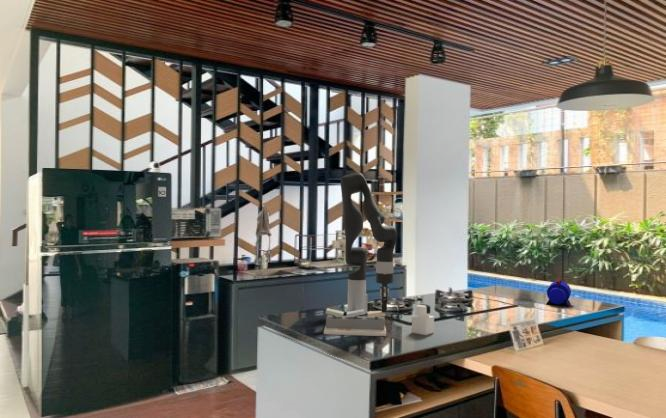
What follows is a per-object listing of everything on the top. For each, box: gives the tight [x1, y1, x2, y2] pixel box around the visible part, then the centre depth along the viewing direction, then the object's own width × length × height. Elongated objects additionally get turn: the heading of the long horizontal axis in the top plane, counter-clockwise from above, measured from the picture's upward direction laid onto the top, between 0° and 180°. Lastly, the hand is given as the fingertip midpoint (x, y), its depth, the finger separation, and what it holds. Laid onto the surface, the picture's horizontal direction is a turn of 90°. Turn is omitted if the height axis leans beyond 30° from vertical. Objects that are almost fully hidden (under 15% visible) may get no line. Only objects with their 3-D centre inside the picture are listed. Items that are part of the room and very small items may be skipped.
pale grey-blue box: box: [345, 309, 365, 318], centre depth 223 cm, size 8×5×2 cm, turn 87°
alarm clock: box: [546, 277, 572, 308], centre depth 296 cm, size 12×12×15 cm
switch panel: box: [323, 314, 387, 337], centre depth 221 cm, size 26×13×6 cm, turn 86°
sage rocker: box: [325, 307, 345, 317], centre depth 223 cm, size 8×5×2 cm, turn 86°
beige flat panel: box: [366, 310, 386, 319], centre depth 222 cm, size 8×5×2 cm, turn 86°
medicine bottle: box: [411, 303, 435, 336], centre depth 221 cm, size 7×7×12 cm
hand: (384, 311), depth 222 cm, fingers closed
